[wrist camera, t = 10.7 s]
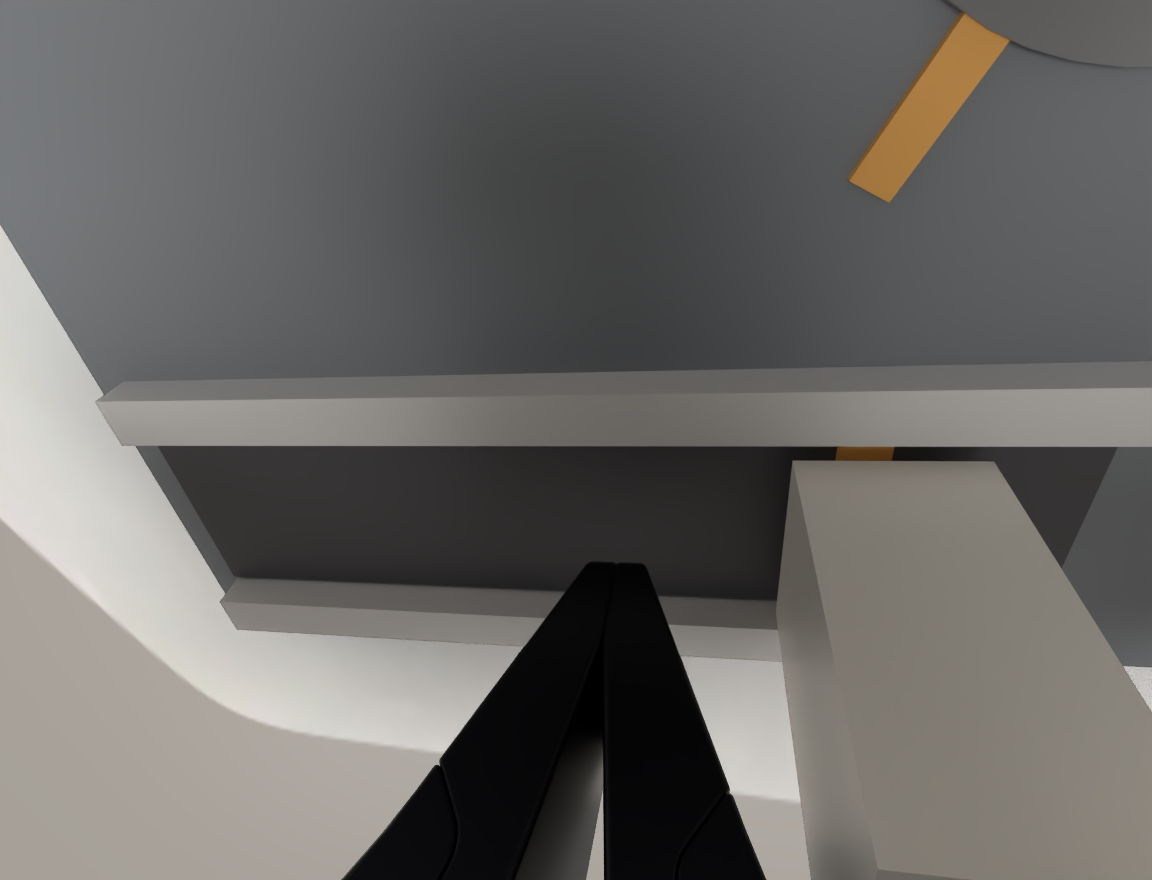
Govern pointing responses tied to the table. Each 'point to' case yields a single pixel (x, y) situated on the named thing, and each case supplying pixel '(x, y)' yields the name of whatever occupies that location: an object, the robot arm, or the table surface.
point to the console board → (591, 284)
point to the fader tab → (951, 686)
